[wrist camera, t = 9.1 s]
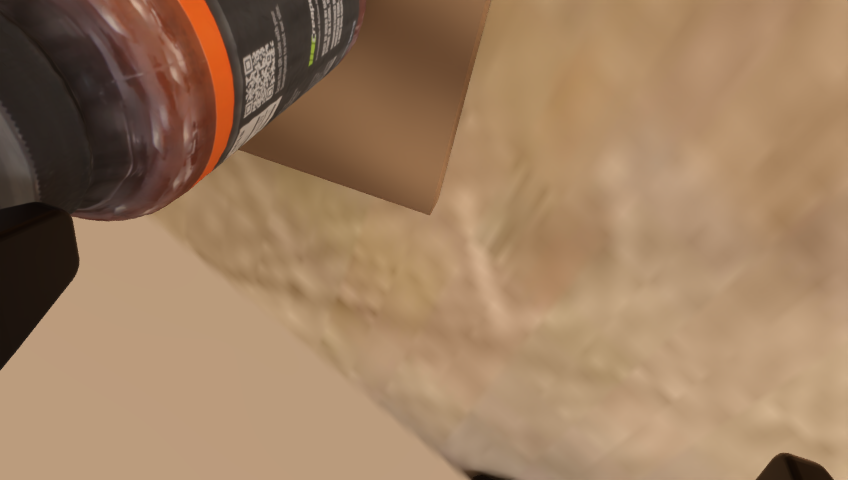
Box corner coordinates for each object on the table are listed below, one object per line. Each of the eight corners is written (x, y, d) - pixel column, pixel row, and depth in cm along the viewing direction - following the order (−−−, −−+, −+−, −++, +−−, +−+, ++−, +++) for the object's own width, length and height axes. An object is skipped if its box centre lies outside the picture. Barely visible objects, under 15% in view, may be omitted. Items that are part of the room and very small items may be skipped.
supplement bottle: (143, -95, 18) (-367, -6, 9) (318, -188, 16) (-142, -195, 6) (242, 101, 21) (-76, 327, 12) (406, 48, 18) (166, 282, 9)
